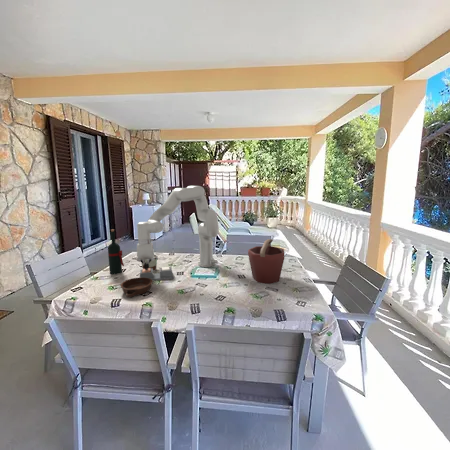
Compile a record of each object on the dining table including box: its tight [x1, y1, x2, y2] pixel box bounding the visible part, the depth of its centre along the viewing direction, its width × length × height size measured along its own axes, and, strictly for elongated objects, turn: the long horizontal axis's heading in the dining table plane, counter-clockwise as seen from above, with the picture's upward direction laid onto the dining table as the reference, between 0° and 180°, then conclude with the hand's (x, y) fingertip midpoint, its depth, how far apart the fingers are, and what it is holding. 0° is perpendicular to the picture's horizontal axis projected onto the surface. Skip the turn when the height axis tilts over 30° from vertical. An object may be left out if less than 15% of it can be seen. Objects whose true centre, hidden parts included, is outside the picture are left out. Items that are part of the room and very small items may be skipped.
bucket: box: [247, 238, 285, 285], centre depth 162 cm, size 24×22×25 cm
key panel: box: [138, 266, 174, 281], centre depth 167 cm, size 21×10×5 cm, turn 105°
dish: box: [119, 276, 154, 298], centre depth 147 cm, size 18×22×5 cm
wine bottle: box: [107, 229, 125, 275], centre depth 175 cm, size 8×10×30 cm
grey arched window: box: [141, 254, 159, 272], centre depth 183 cm, size 12×6×10 cm, turn 84°
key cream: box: [160, 266, 170, 271], centre depth 169 cm, size 5×5×3 cm
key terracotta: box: [141, 268, 151, 273], centre depth 165 cm, size 5×5×3 cm
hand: (146, 269), depth 165 cm, fingers closed
